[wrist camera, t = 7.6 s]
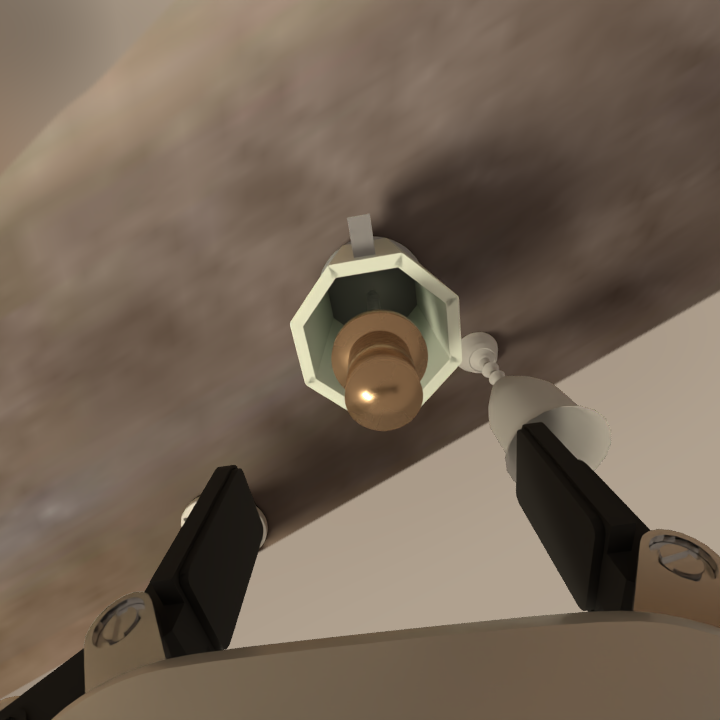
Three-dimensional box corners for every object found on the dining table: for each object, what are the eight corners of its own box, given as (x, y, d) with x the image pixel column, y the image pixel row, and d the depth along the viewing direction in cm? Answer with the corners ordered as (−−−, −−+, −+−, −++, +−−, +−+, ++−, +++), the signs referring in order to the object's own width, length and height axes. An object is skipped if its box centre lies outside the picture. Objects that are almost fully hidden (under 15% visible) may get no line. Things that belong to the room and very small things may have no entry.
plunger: (402, 317, 36) (449, 440, 16) (350, 325, 36) (335, 454, 17) (395, 264, 34) (440, 331, 14) (341, 273, 34) (310, 351, 14)
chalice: (469, 312, 38) (553, 388, 21) (518, 338, 39) (634, 430, 22) (434, 365, 40) (484, 470, 24) (482, 388, 41) (561, 504, 25)
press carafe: (429, 333, 39) (470, 406, 24) (330, 348, 39) (311, 427, 25) (418, 205, 33) (460, 196, 19) (304, 226, 34) (259, 233, 19)
